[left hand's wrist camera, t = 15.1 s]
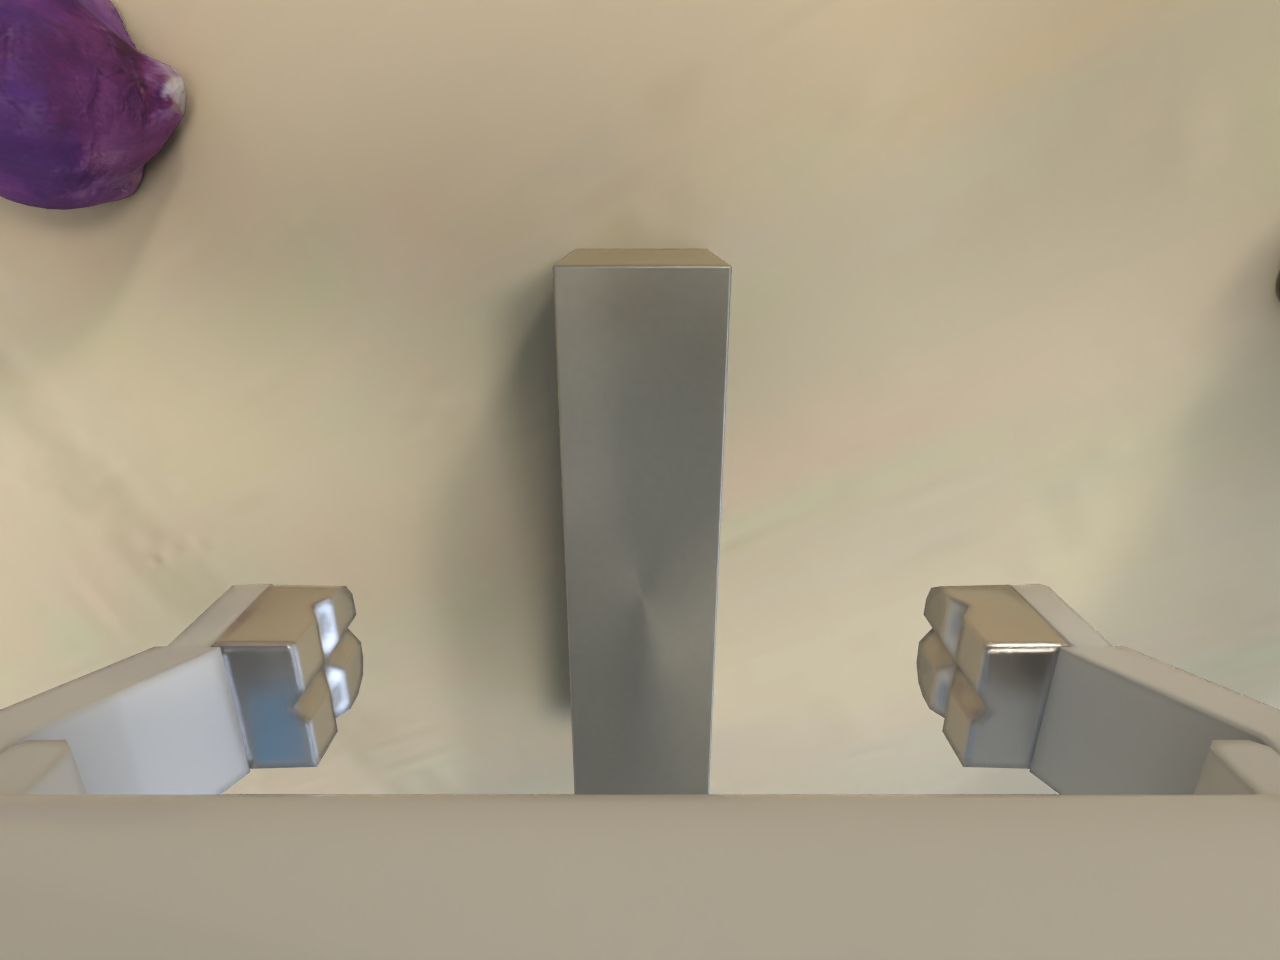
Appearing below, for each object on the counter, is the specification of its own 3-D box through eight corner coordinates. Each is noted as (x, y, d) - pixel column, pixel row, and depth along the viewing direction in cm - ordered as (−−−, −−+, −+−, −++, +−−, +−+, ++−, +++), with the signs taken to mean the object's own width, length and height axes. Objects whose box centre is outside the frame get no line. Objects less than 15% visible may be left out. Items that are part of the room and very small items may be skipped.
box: (574, 248, 32) (552, 265, 24) (708, 248, 32) (731, 265, 24) (588, 709, 41) (576, 837, 33) (693, 709, 41) (707, 836, 33)
